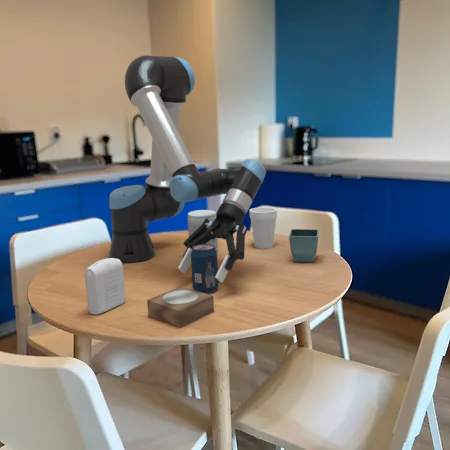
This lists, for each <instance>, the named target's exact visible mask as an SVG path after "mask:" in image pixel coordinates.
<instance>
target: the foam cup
mask: <svg viewBox="0 0 450 450" xmlns="http://www.w3.org/2000/svg"><path fill="white" fill-rule="evenodd" d="M249 218H250V223H251V229H252V235H253V242H254V247H255V248H256V249H261V250H262V249H263V250H266V249H271V248H274V243H275V241H274V240H275V232H276V223H277V222H276V221H277V218H278V210H277V208H275V207H268V206H267V207H266V206H264V207H263V206H261V207H254V208H249Z"/></svg>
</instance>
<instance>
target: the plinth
mask: <svg viewBox="0 0 450 450" xmlns="http://www.w3.org/2000/svg"><path fill="white" fill-rule="evenodd" d="M146 304H147V313H148V314H147V315H148V317H150V318H153V319H156V320H157V321H162V322H164V323H167V324H170V325H172V326H175V327H177V328H184V327H185V326H188V325H190V324H192V323H194V322H195V321H197V320H200V319H203V317H206V316H208V315H209V314H212V313H213V312H215V307H214V306H215V305H214V304H215V303H214V295H213V294H210V293H207V294H206V293H202V292H199V291H195V290H194V289H191V288H187V287H183V286H178V287H176V288H174V289H172V290H169V291H166V292H163V293H161V294H159V295H157V296H154V297H150V298H149V299H147V300H146Z"/></svg>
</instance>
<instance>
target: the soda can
mask: <svg viewBox="0 0 450 450" xmlns="http://www.w3.org/2000/svg"><path fill="white" fill-rule="evenodd" d="M190 266H191V281H192V282H191V284H192V286H191V287H192V288H193V290H195V291H199V292H202V293H206V294H212V293H214V292H216V290H217V289H218V287H219V281H218V280H217V279H216V278H215V276H216V274H217V272H218V270H219V267H218V266H219V265H218V255H217V252H216V250H215V248H214V245H211V244H199V245H195V246H193V250H192V252H191V263H190Z"/></svg>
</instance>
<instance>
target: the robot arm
mask: <svg viewBox="0 0 450 450" xmlns="http://www.w3.org/2000/svg"><path fill="white" fill-rule="evenodd" d="M195 83H196V77H195V72H194V69H193V67H191V64H190V63H189V62H188V61H187V60H186V59H184V58H182V57H181V58H180V57H175V56H162V55H149V54H148V55H147V54H146V55H141V56H138V57H136V58H135V59H133V60H132V61H131V62H130V63H129V65H128V66H127V68H126V71H125V75H124V87H125V93H126V95H127V98H128V99H129V101H130V104H131V105H132V106H133V107H136V108H137V110H138V112H139V114H140V116H141V118H142V120H143V122H144V124H145V126H146V128H147V130H148V132H149V134H150V136H151V155H150V158H151V159H150V174H149V176H148V177H147V178H146V179H145V185H141V184H134V185H133V184H132V185H125V186H122V187H119V188H116V189H114V190H112V192H110V194H109V205H108V207H109V211H110V220H111V228H112V230H111V231H112V239H111V243H110V247H109V251H108V254H109V257H108V258H115V259H119V260H120V261H121V263H122V264H130V263H137V262H144V261H146V260H150V259H152V258H154V257H155V256H156V248H155V246H154V243H153V241H152V239H151V236H150V233H149V227H148V223H151V222H156V221H160V220H165V219H171V218H173V217H175V216H176V217H177V215H179V214H180V213H181V212H182V211H183V210H184V207H185V203H187V202H193V201H196V200H197V201H198V200H200V199H205V198H206V199H207V198H212V197H215V196H216V197H217V196H221V195H225V196H224V197H223V200H222V203H221V204H220V205H219V207H218V208H217V211H216V219H215V220H214V221H213V222H212V221H209V220H208V219H205V220H204V222H203V224H202V225H201V226H200V227H199V228H198V229H197V230H196V231H195V232H194V233H193V234H192V235H191V236H190V237H189V236H188V237H187V238H186V239H185V241H183V245H184V246H185V247H186V249H185V251H184V252H183V255H182V259H181V261H180V264H179V265H178V267H177V270H180V271H181V272H182V273H183V274H186V273H187V271H188V269H189V267H190V266H191V252H192V250H193V246H195V245H199V244H205V243H207V242H208V241H210V240H211V239H215V238H218V239H222V240H225V241H226V247H227V250H228V255H225V256H224V258H223V261H222V262H221V265H220V267H218V272H217V274H216V276H215V278H216V279H217V280H218V283H224V281H225V279H226V276H227V275H228V272H230V271H232V269H233V267H234V264H235V262H236V261H237V260H241V261H243V260H244V259H245V248H246V247H245V246H246V245H245V244H246V234H247V231H248V228H247V227H246V226H245V224H243V221H244V219H245V217H246V215H247V213H248V211H249V210H250V207H251V205H252V204H253V202H254V199H255V197H256V195H257V193H258V191H259V189H260V187H261V185H262V184H263V181H264V179H265V177H266V174H267V170H266V168H265V166H263V164H262V163H260V162H259V161H257V160H254V159H251V158H250V159H246V160H244V161H242V163H241V165H240V167H239V168H238V167H236V168H213V169H208V170H206V171H199V169H198V167H197V166H196V163H195V162H194V160H193V158H192V157H191V154H190V152H189V151H188V149H187V147H186V144H185V142H184V140H183V139H182V136H181V135H180V133H179V132H180V121H181V120H180V119H181V107H182V106H184V105H185V104H186V100H187V99H186V98H187V96H188V95H191V93H192V91H193V90H194V87H195ZM144 186H145V187H144ZM211 232H212V233H213V234H212V233H211ZM235 233H236V236H235V237H236V238H235V237H234V234H235ZM235 239H236V241H235Z"/></svg>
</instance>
